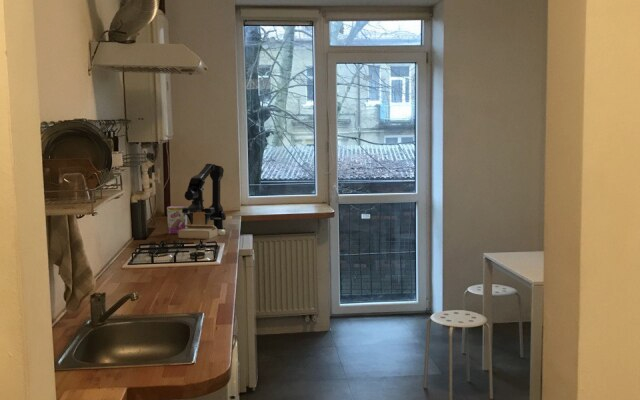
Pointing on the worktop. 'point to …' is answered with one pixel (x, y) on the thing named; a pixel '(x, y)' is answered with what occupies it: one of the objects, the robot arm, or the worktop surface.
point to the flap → (200, 226)
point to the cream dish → (221, 231)
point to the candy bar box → (176, 219)
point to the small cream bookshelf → (197, 233)
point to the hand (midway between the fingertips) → (199, 224)
